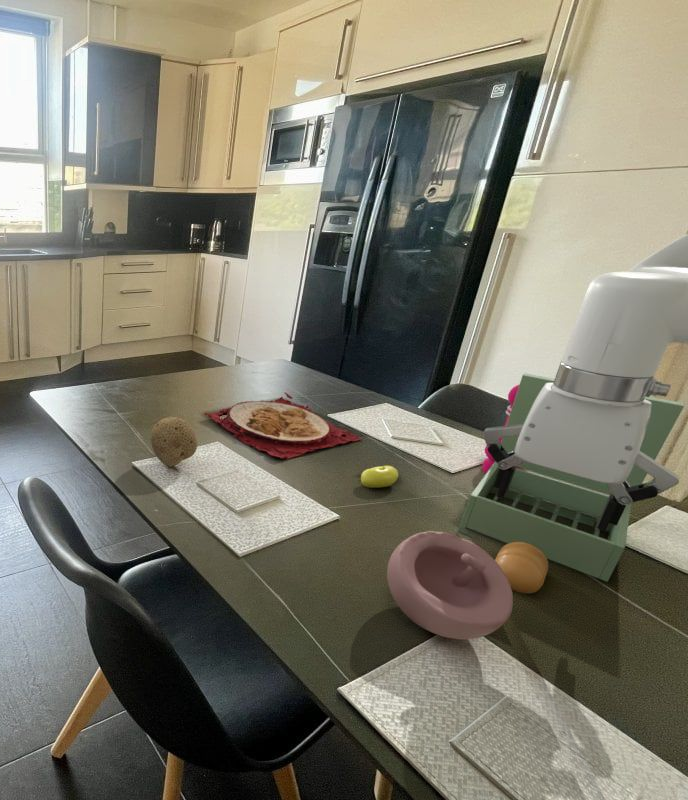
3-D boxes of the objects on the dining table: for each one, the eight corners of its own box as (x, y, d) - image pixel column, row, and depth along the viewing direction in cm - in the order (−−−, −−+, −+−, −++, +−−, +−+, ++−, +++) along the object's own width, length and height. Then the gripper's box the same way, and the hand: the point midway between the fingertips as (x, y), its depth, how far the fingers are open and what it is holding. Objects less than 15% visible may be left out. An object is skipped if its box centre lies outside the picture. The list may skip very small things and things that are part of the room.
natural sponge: (180, 451, 101) (184, 407, 98) (203, 471, 94) (209, 424, 90) (141, 457, 98) (144, 412, 95) (162, 479, 91) (166, 431, 87)
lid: (684, 406, 64) (688, 388, 66) (522, 375, 75) (531, 360, 78) (632, 501, 73) (637, 482, 75) (495, 460, 84) (503, 445, 87)
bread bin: (603, 589, 65) (624, 548, 63) (457, 531, 77) (470, 494, 74) (613, 539, 76) (631, 502, 73) (482, 494, 87) (495, 461, 85)
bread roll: (532, 609, 62) (547, 577, 60) (482, 587, 65) (494, 556, 64) (543, 578, 67) (557, 547, 65) (497, 559, 71) (508, 529, 69)
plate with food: (202, 419, 117) (203, 406, 116) (281, 401, 127) (283, 389, 126) (275, 464, 98) (278, 449, 96) (362, 439, 108) (365, 425, 106)
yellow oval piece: (351, 482, 91) (356, 464, 89) (385, 476, 93) (390, 458, 91) (369, 494, 87) (374, 475, 85) (404, 488, 89) (410, 469, 88)
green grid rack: (588, 572, 67) (596, 556, 66) (475, 528, 76) (480, 514, 75) (598, 533, 76) (605, 518, 75) (494, 498, 85) (499, 484, 84)
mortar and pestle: (401, 655, 55) (428, 575, 51) (362, 581, 66) (382, 510, 62) (518, 671, 53) (556, 589, 49) (459, 592, 64) (485, 520, 60)
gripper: (715, 395, 52) (649, 527, 58) (510, 361, 64) (474, 473, 70) (719, 413, 47) (647, 555, 54) (497, 373, 60) (460, 492, 66)
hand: (549, 509), depth 62 cm, fingers open, 9 cm apart
